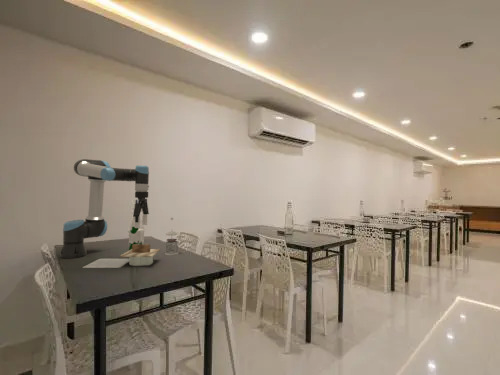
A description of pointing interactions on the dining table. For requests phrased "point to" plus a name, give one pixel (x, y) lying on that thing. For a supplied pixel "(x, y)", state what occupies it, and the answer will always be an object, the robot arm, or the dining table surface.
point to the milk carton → (135, 236)
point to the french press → (172, 244)
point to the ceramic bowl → (140, 261)
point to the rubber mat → (107, 263)
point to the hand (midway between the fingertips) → (141, 226)
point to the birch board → (129, 253)
